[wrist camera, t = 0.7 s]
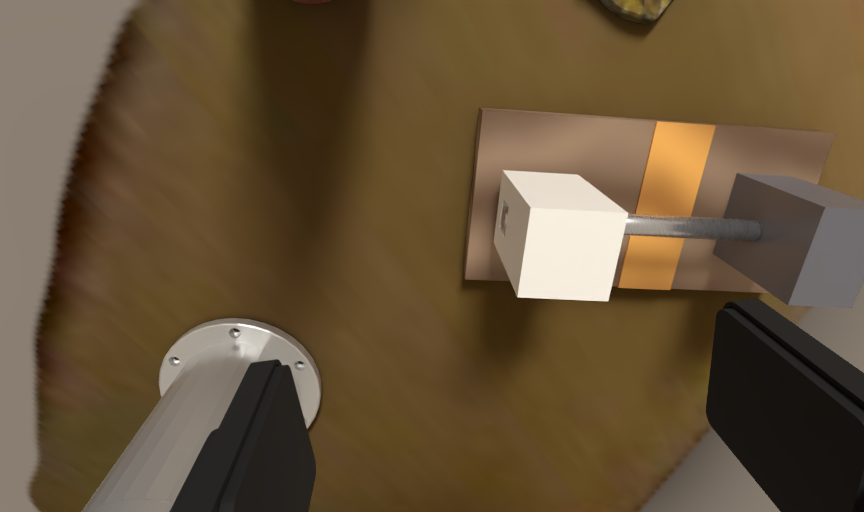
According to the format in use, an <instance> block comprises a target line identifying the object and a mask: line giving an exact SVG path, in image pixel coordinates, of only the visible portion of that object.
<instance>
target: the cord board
mask: <svg viewBox="0 0 864 512" xmlns="http://www.w3.org/2000/svg"><path fill="white" fill-rule="evenodd" d="M835 135H836V134H832V133H827V132H822V131H815V130H800V129H786V128H771V127H756V126H742V125H727V124H712V123H698V122H683V121H668V120H654V119H639V118H624V117H610V116H595V115H581V114H566V113H551V112H537V111H522V110H507V109H493V108H480V109H479V119H478V129H477V139H476V148H475V158H474V168H473V178H472V188H471V197H470V207H469V217H468V227H467V236H466V246H465V256H464V266H463V273H464V277H465V279H468V280H490V281H510V279H509V277H508V275H507V272H506V270H505V268H504V265H503V263H502V261H501V258H500V256H499V254H498V251H497V249H496V247H495V244H494V235H495V227H496V219H497V211H498V203H499V195H500V187H501V179H502V171H503V170H509V171H526V172H542V173H559V174H576V175H579V176H581V177H582V178H583V179H584V180H586V181H587V182H588V183H590V184H591V185H592V186H594V187H595V188H596V189H598V190H599V191H600V192H601V193H603V194H604V195H605V196H607V197H608V198H609V199H611V200H612V201H613V202H615V203H616V204H617V205H618V206H620V207H621V208H622V209H624V210H625V211H626V212H628V213H633V214H651V215H670V216H688V217H706V218H723V217H724V214H725V211H726V207H727V204H728V201H729V198H730V194H731V191H732V188H733V184H734V181H735V178H736V175H737V173H747V174H764V175H780V176H793V177H796V178H799V179H802V180H805V181H808V182H810V183H813V184H816V185H817V183H818V181H819V178H820V175H821V173H822V170H823V167H824V164H825V162H826V159H827V156H828V154H829V151H830V148H831V146H832V143H833V140H834V137H835ZM715 244H716V240H708V239H689V238H670V237H651V236H632V235H623V239H622V244H621V248H620V253H619V257H618V261H617V266H616V270H615V274H614V279H613V283H612V286H617V287H618V288H634V289H656V290H670V289H688V290H710V291H732V292H754V293H769V292H768V291H767V290H765V289H764V288H762V287H761V286H759V285H758V284H756V283H755V282H753V281H752V280H750V279H749V278H748V277H746V276H745V275H743V274H742V273H740V272H739V271H737V270H736V269H734V268H733V267H732V266H730V265H729V264H727V263H726V262H724V261H723V260H721V259H720V258H718V257H717V256H716V255H714V254H713V250H714V247H715Z"/></svg>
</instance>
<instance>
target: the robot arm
mask: <svg viewBox="0 0 864 512" xmlns="http://www.w3.org/2000/svg"><path fill="white" fill-rule="evenodd" d="M159 388H160V394H161V399H160V401H159V402H158V404H157V405H156V406H155V408H154V409H153V411H152V412H151V413H150V415H149V416H148V418H147V419H146V421H145V422H144V423H143V425H142V426H141V428H140V429H139V431H138V432H137V433H136V435H135V436H134V438H133V439H132V441H131V442H130V443H129V445H128V446H127V448H126V449H125V451H124V452H123V453H122V455H121V456H120V458H119V459H118V460H117V462H116V463H115V465H114V466H113V468H112V469H111V470H110V472H109V473H108V475H107V476H106V478H105V479H104V480H103V482H102V483H101V485H100V486H99V488H98V489H97V490H96V492H95V493H94V495H93V496H92V498H91V499H90V500H89V502H88V503H87V505H86V506H85V508H84V509H83V510H82V512H308V510H309V505H310V500H311V495H312V491H313V486H314V481H315V476H316V463H315V457H314V454H313V450H312V446H311V442H310V439H309V435H308V431H307V429H308V428H309V426H310V425H311V423H312V421H313V420H314V418H315V416H316V413H317V411H318V408H319V404H320V399H321V394H322V389H321V379H320V375H319V371H318V368H317V366H316V364H315V362H314V360H313V358H312V357H311V356H310V354H309V353H308V352H307V350H306V349H305V348H304V347H303V346H302V345H301V344H300V343H299V342H298V341H297V340H295V339H294V338H293V337H292V336H290V335H288V334H287V333H285V332H284V331H282V330H280V329H278V328H276V327H274V326H271V325H269V324H266V323H263V322H259V321H255V320H251V319H240V318H228V319H217V320H214V321H210V322H206V323H203V324H201V325H199V326H197V327H194V328H192V329H190V330H189V331H188V332H186V333H185V334H184V335H183V336H181V337H180V338H179V339H178V340H177V341H176V343H175V344H174V345H173V346H172V347H171V348H170V350H169V351H168V353H167V354H166V356H165V357H164V360H163V363H162V365H161V368H160V373H159ZM706 414H707V418H708V421H709V423H710V425H711V426H712V428H713V429H714V430H715V431H716V433H717V434H718V435H719V436H720V437H721V439H722V440H723V441H724V442H725V444H726V445H727V446H728V447H729V449H730V450H731V451H732V452H733V454H734V455H735V456H736V457H737V458H738V460H739V461H740V462H741V463H742V465H743V466H744V467H745V468H746V470H747V471H748V472H749V473H750V474H751V476H752V477H753V478H754V479H755V481H756V482H757V483H758V484H759V486H760V487H761V488H762V489H763V490H764V491H765V493H766V494H767V495H768V497H769V498H770V499H771V500H772V502H773V503H774V504H775V505H776V506H777V508H778V509H779V510H780V511H781V512H864V373H863V372H861V371H860V370H859V369H857V368H856V367H854V366H853V365H851V364H850V363H849V362H847V361H846V360H844V359H843V358H842V357H840V356H839V355H837V354H836V353H834V352H833V351H831V350H830V349H829V348H827V347H826V346H825V345H823V344H822V343H820V342H819V341H817V340H816V339H815V338H813V337H812V336H810V335H809V334H808V333H806V332H805V331H803V330H802V329H800V328H799V327H798V326H796V325H795V324H793V323H792V322H791V321H789V320H788V319H786V318H785V317H783V316H782V315H781V314H779V313H778V312H776V311H775V310H773V309H772V308H771V307H769V306H768V305H766V304H765V303H764V302H762V301H761V300H758V299H747V300H739V301H731V302H728V303H726V304H725V306H724V307H723V309H721V310H719V311H718V313H717V316H716V324H715V333H714V342H713V351H712V360H711V368H710V377H709V386H708V395H707V404H706Z"/></svg>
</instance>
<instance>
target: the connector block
mask: <svg viewBox="0 0 864 512" xmlns="http://www.w3.org/2000/svg"><path fill="white" fill-rule="evenodd" d="M723 218H724V219H742V220H758V221H760V222H761V223H762V225H763V235H762V237H761V239H760V240H759V241H757V242H746V241H727V240H716V244H715V247H714V250H713V254H714V255H716V256H717V257H718V258H720V259H721V260H723V261H724V262H726V263H727V264H729V265H730V266H732V267H733V268H734V269H736V270H737V271H739V272H740V273H742V274H743V275H745V276H746V277H748V278H749V279H750V280H752V281H753V282H755V283H756V284H758V285H759V286H761V287H762V288H764V289H765V290H767V291H768V292H769V293H771V294H772V295H774V296H775V297H777V298H778V299H780V300H781V301H783V302H784V303H785V304H787V305H795V306H818V307H842V308H852V307H853V305H854V302H855V300H856V298H857V296H858V293H859V291H860V288H861V286H862V284H863V282H864V201H863V200H860V199H857V198H854V197H851V196H848V195H845V194H843V193H840V192H837V191H834V190H831V189H828V188H825V187H822V186H819V185H816V184H813V183H810V182H808V181H805V180H802V179H799V178H796V177H793V176H780V175H764V174H747V173H737V175H736V178H735V181H734V184H733V188H732V191H731V194H730V198H729V201H728V204H727V207H726V211H725V214H724V217H723Z"/></svg>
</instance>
